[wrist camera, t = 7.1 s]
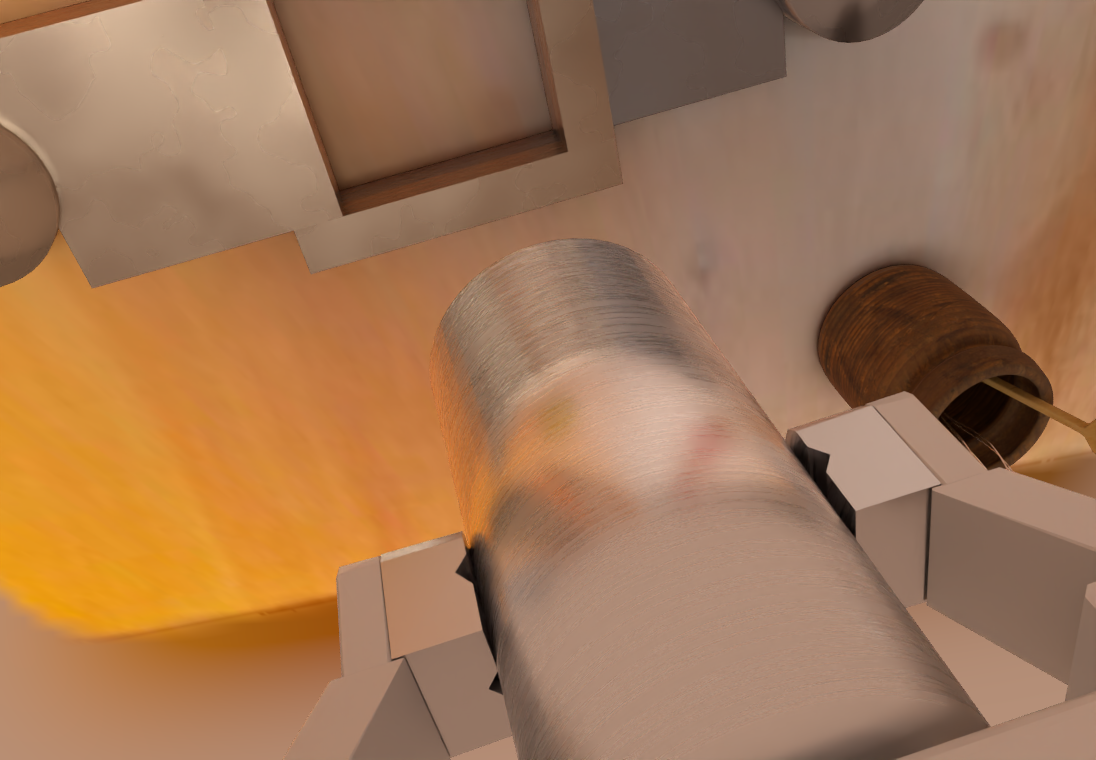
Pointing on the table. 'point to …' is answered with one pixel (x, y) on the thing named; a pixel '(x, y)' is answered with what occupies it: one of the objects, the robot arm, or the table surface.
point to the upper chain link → (238, 142)
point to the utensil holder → (940, 362)
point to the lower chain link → (675, 58)
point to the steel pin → (660, 536)
